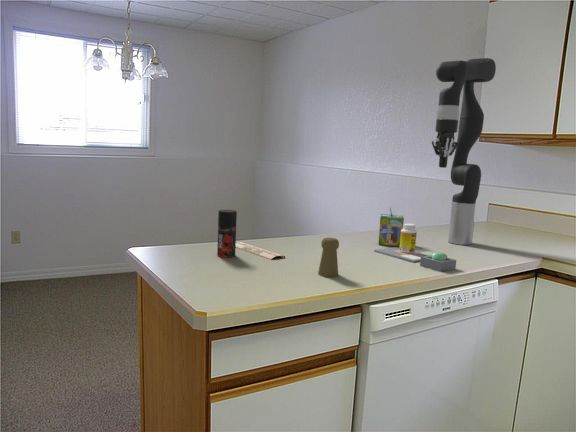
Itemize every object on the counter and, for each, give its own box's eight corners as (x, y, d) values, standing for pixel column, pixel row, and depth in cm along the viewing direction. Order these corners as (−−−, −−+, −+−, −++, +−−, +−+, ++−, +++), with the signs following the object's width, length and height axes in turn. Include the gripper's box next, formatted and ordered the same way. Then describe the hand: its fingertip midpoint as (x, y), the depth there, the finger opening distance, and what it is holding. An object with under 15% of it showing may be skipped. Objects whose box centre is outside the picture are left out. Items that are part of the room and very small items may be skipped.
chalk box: (401, 247, 184) (405, 210, 182) (378, 245, 186) (381, 208, 184) (401, 242, 193) (404, 207, 191) (378, 240, 195) (381, 205, 193)
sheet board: (407, 246, 186) (407, 245, 185) (447, 256, 171) (447, 255, 171) (374, 251, 174) (374, 249, 174) (413, 262, 160) (413, 260, 160)
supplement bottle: (411, 254, 169) (414, 226, 168) (396, 251, 172) (399, 224, 171) (417, 252, 174) (419, 224, 172) (402, 249, 177) (405, 222, 175)
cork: (316, 271, 143) (318, 235, 141) (336, 271, 143) (338, 236, 142) (319, 277, 137) (321, 239, 135) (340, 277, 137) (342, 240, 136)
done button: (436, 263, 158) (437, 251, 158) (447, 266, 155) (448, 254, 154) (428, 264, 156) (429, 252, 155) (439, 267, 152) (440, 255, 151)
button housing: (434, 263, 161) (435, 254, 160) (455, 268, 154) (456, 259, 154) (420, 265, 156) (420, 257, 156) (440, 271, 150) (441, 262, 149)
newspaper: (285, 259, 158) (285, 254, 158) (268, 262, 153) (268, 257, 153) (244, 246, 176) (244, 241, 175) (228, 248, 171) (228, 243, 171)
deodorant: (238, 254, 159) (239, 210, 156) (230, 258, 153) (231, 212, 151) (222, 252, 160) (223, 209, 158) (214, 256, 155) (215, 211, 153)
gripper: (449, 120, 176) (444, 167, 178) (427, 117, 168) (422, 166, 171) (467, 120, 170) (462, 168, 173) (445, 117, 162) (440, 168, 165)
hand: (442, 167), depth 172 cm, fingers closed
